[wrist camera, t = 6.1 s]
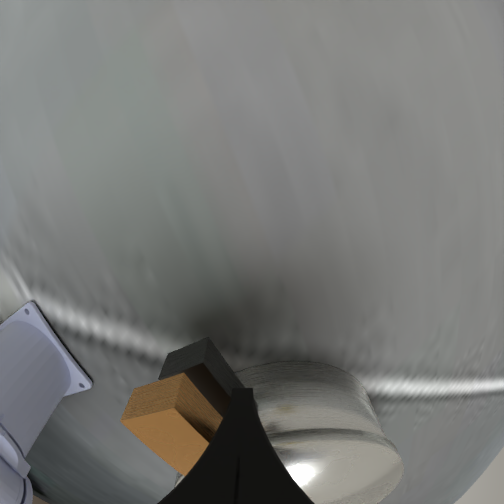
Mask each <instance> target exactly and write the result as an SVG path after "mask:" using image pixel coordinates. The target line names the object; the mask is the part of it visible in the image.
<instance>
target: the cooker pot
mask: <svg viewBox="0 0 504 504" xmlns="http://www.w3.org/2000/svg"><path fill="white" fill-rule="evenodd" d="M181 373H185V374H186V376H187V377H188V378H189V379H190V381H191V382H192V383H193V384H194V385H195V387H196V388H197V389H198V390H199V391H200V393H201V394H202V395H203V396H204V397H205V398H206V400H207V401H208V402H209V403H210V404H211V405H212V407H213V408H214V409H215V410H216V411H217V412H218V413H219V414H220V416H221V417H222V418H223V417H224V415H225V412H226V410H227V408H228V405H229V403H230V400H231V394H232V388H253V395H254V402H255V406H256V409H257V412H258V415H259V418H260V421H261V423H262V425H263V428H264V430H265V432H266V434H271V433H278V432H286V431H294V430H306V429H326V428H336V429H354V430H363V431H367V432H372V433H376V434H378V435H381V436H384V437H385V438H387V437H386V435H385V433H384V430H383V428H382V426H381V424H380V421H379V419H378V417H377V415H376V413H375V410H374V408H373V406H372V404H371V401H370V399H369V397H368V395H367V393H366V391H365V389H364V387H363V386H362V385H361V383H360V382H359V381H358V380H357V379H355V378H354V377H353V376H352V375H350V374H348V373H347V372H345V371H343V370H341V369H338V368H336V367H333V366H329V365H325V364H321V363H314V362H302V361H289V362H276V363H269V364H264V365H259V366H255V367H251V368H248V369H245V370H242V371H239V372H237V373H234V372H233V371H232V369H231V368H230V367H229V365H228V364H227V362H226V361H225V360H224V358H223V357H222V356H221V354H220V353H219V351H218V350H217V349H216V347H215V346H214V344H213V343H212V341H211V340H210V339H209V337H207V338H205V339H203V340H200V341H198V342H195V343H193V344H191V345H188V346H186V347H183V348H181V349H178V350H176V351H173V352H171V353H168V355H167V357H166V360H165V363H164V365H163V368H162V370H161V373H160V376H159V378H158V379H159V380H163V379H166V378H169V377H172V376H175V375H178V374H181Z"/></svg>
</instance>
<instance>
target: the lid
mask: <svg viewBox="0 0 504 504" xmlns="http://www.w3.org/2000/svg"><path fill="white" fill-rule="evenodd" d="M222 419H223V418H222V417H221V416H220V414H219V413H218V412H217V411H216V410H215V409H214V408H213V407H212V405H211V404H210V403H209V402H208V401H207V400H206V398H205V397H204V396H203V395H202V394H201V393H200V391H199V390H198V389H197V388H196V387H195V385H194V384H193V383H192V382H191V381H190V379H189V378H188V377H187V376H186V374H185V373H181V374H178V375H175V376H172V377H169V378H166V379H163V380H160V381H157V382H154V383H151V384H148V385H144V386H141V387H138V388H135V389H134V390H133V393H132V395H131V397H130V399H129V402H128V404H127V406H126V408H125V411H124V413H123V415H122V418H121V420H120V421H121V422H122V423H123V424H124V425H125V426H126V427H127V428H128V429H129V430H130V431H131V432H132V433H133V434H134V435H135V436H136V437H137V438H139V439H140V440H141V441H142V442H143V443H144V444H145V445H146V446H148V447H149V448H150V449H151V450H152V451H153V452H155V453H156V454H157V455H158V456H159V457H161V458H162V459H163V460H164V461H165V462H167V463H168V464H169V465H170V466H172V467H173V468H174V469H176V470H177V471H178V473H177V477H176V482H175V487H176V486H177V485H178V484H179V483H180V482H181V480H182V479H183V478H184V477H185V476H186V475H187V474H188V472H189V471H190V470H191V469H192V467H193V466H194V465H195V464H196V462H197V461H198V460H199V458H200V457H201V455H202V454H203V452H204V451H205V449H206V448H207V446H208V444H209V443H210V441H211V440H212V438H213V436H214V435H215V433H216V431H217V429H218V427H219V425H220V423H221V421H222ZM266 435H267V437H268V439H269V441H270V443H271V444H272V446H273V448H274V450H275V452H276V453H277V455H278V457H279V458H280V460H281V462H282V463H283V465H284V466H285V468H286V469H287V471H288V472H289V473H290V475H291V476H292V478H293V479H294V480H295V482H296V483H297V484H298V485H299V486H300V488H301V489H302V490H303V491H304V492H305V493H306V495H307V496H308V497H309V498H310V499H311V500H312V501H313V502H314V503H315V504H377V503H378V502H380V501H381V500H382V499H384V498H385V497H386V496H387V495H388V494H390V493H391V492H392V491H393V489H394V488H395V487H396V486H397V485H398V483H399V482H400V480H401V478H402V476H403V472H404V464H403V462H402V460H401V458H400V455H399V453H398V451H397V449H396V446H395V445H394V444H393V443H392V442H391V441H390V440H388V439H387V438H385V437H384V436H381V435H378V434H376V433H372V432H367V431H363V430H354V429H336V428H326V429H306V430H294V431H286V432H278V433H271V434H266ZM175 487H174V488H175Z"/></svg>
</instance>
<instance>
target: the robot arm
mask: <svg viewBox="0 0 504 504" xmlns="http://www.w3.org/2000/svg"><path fill="white" fill-rule="evenodd" d="M92 385H93V383H92V381H91V380H90V379H89V377H88V376H87V375H86V374H85V373H84V371H83V370H82V369H81V368H80V367H79V365H78V364H77V363H76V362H75V360H74V359H73V358H72V356H71V355H70V354H69V352H68V351H67V350H66V349H65V347H64V346H63V344H62V343H61V342H60V340H59V339H58V338H57V336H56V335H55V333H54V332H53V331H52V329H51V328H50V326H49V325H48V323H47V322H46V320H45V319H44V317H43V316H42V314H41V313H40V311H39V309H38V308H37V306H36V305H35V303H33V302H31V301H30V302H28V303H27V304H25V305H24V306H23V307H22V308H20V309H19V310H18V311H17V312H15V313H14V314H13V315H12V316H10V317H9V318H8V319H7V320H5V321H4V322H3V323H2V324H1V325H0V504H32V498H33V492H32V486H31V483H30V480H29V479H28V477H27V474H28V472H29V470H30V468H31V467H30V465H29V464H28V463H27V462H26V461H25V460H24V459H25V457H26V455H27V453H28V452H29V450H30V448H31V447H32V445H33V443H34V442H35V440H36V438H37V437H38V435H39V434H40V432H41V430H42V429H43V427H44V425H45V424H46V422H47V421H48V419H49V418H50V416H51V414H52V413H53V411H54V410H55V408H56V407H57V405H58V404H59V402H60V401H61V399H62V398H63V397H64V396H68V395H71V394H74V393H78V392H81V391H84V390H87V389H90V388H91V387H92ZM158 504H315V503H314V502H313V501H312V500H311V499H310V498H309V497H308V496H307V495H306V493H305V492H304V491H303V490H302V489H301V488H300V486H299V485H298V484H297V483H296V482H295V480H294V479H293V478H292V476H291V475H290V473H289V472H288V471H287V469H286V468H285V466H284V465H283V463H282V462H281V460H280V458H279V457H278V455H277V453H276V452H275V450H274V448H273V446H272V444H271V443H270V441H269V439H268V437H267V435H266V432H265V430H264V428H263V425H262V423H261V421H260V418H259V415H258V412H257V409H256V406H255V402H254V395H253V388H232V394H231V400H230V403H229V405H228V408H227V410H226V412H225V415H224V417H223V419H222V421H221V423H220V425H219V427H218V429H217V431H216V433H215V435H214V436H213V438H212V440H211V441H210V443H209V444H208V446H207V448H206V449H205V451H204V452H203V454H202V455H201V457H200V458H199V460H198V461H197V462H196V464H195V465H194V466H193V467H192V469H191V470H190V471H189V472H188V474H187V475H186V476H185V477H184V478H183V479H182V480H181V482H180V483H179V484H178V485H177V486H176V487H175V488H174V489H173V490H172V491H171V492H170V493H169V494H168V495H167V496H166V497H164V498H163V499H162V500H161V501H160V502H159V503H158Z"/></svg>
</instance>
